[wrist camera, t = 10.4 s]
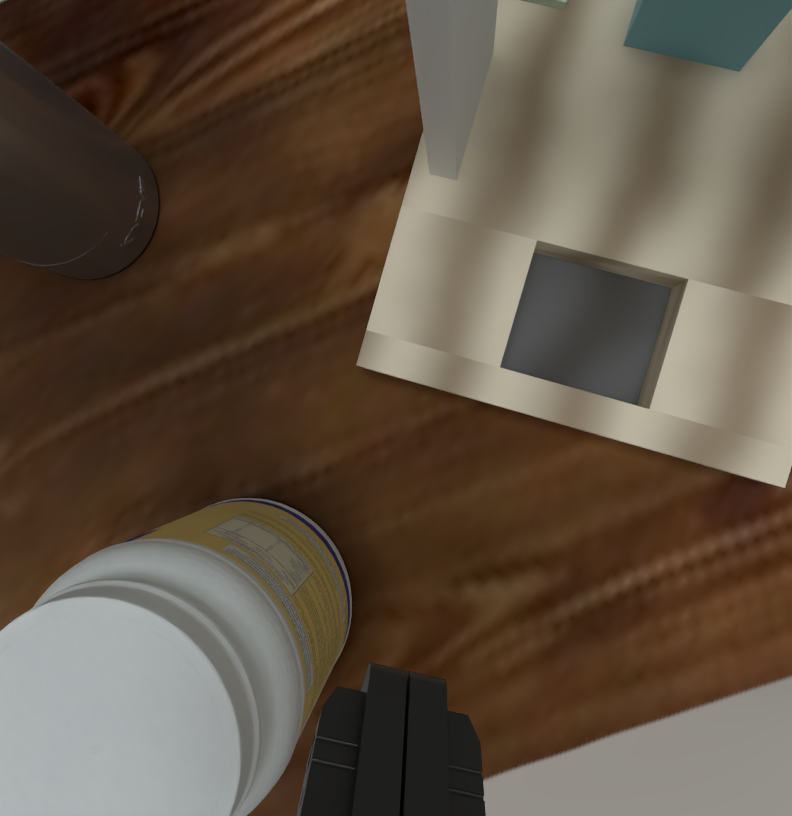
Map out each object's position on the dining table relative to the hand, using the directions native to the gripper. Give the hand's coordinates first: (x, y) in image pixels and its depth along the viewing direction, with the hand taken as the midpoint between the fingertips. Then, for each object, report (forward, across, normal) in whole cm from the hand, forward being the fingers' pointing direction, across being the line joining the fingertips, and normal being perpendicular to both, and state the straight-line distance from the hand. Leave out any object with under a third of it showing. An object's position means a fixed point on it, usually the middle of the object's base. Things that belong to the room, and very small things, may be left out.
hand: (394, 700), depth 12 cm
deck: (+29, -9, -10) cm, 32 cm away
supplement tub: (+21, +6, +17) cm, 28 cm away
